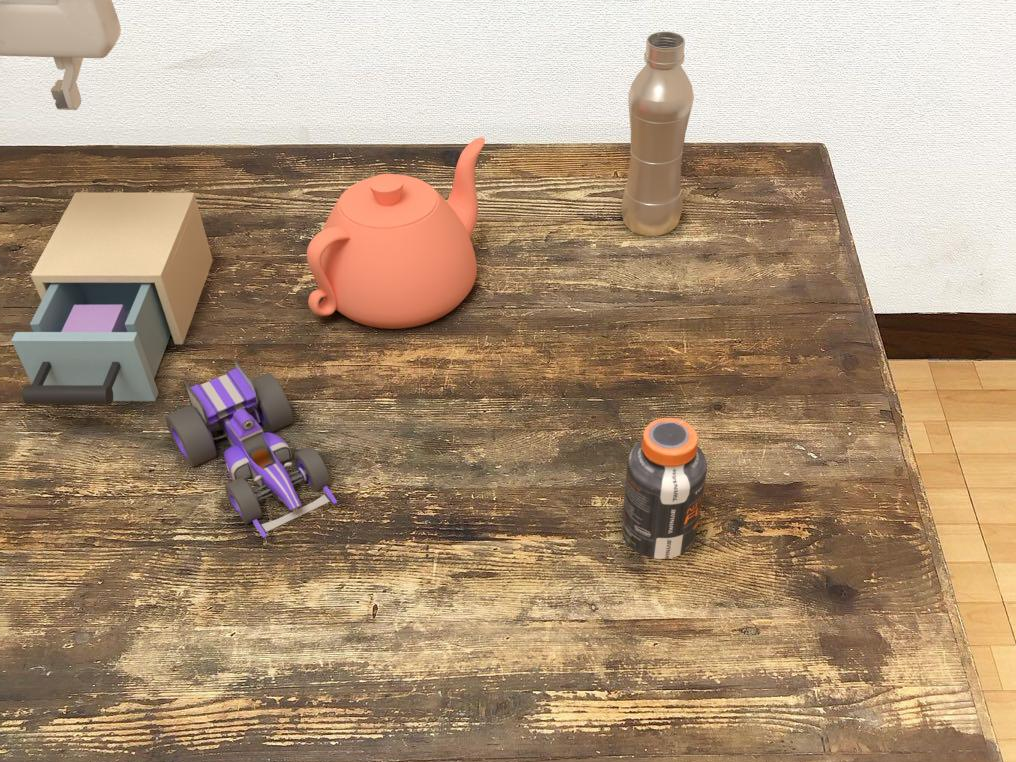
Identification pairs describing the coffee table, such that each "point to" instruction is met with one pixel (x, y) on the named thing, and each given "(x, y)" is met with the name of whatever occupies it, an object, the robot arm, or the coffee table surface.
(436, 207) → the teapot
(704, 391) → the coffee table surface
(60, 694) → the coffee table surface
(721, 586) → the coffee table surface
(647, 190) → the plastic bottle
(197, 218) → the drawer cabinet
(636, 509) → the pill bottle
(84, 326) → the purple cube
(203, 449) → the toy race car
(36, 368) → the blue drawer
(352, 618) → the coffee table surface
